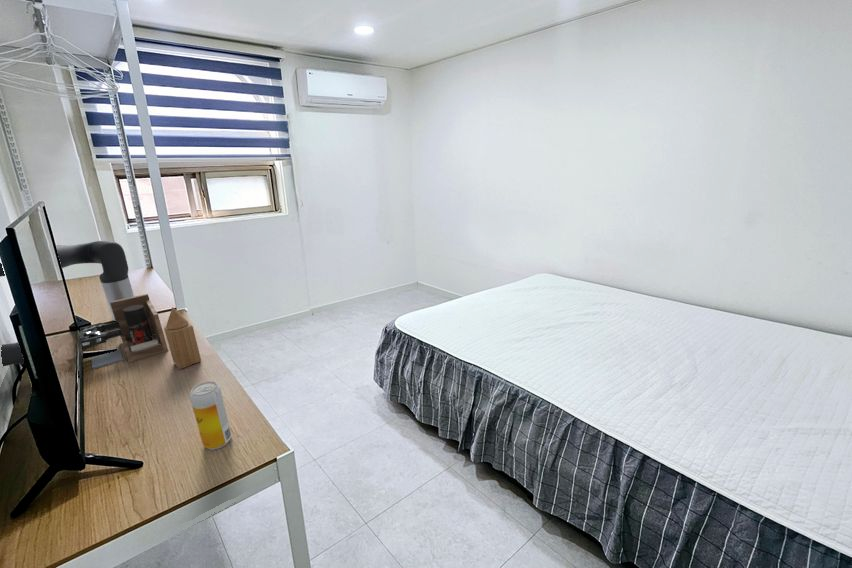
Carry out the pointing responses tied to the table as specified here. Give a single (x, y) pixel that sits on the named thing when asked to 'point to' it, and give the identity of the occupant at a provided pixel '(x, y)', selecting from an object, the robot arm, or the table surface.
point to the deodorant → (138, 324)
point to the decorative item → (181, 340)
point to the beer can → (210, 415)
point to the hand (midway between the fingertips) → (120, 327)
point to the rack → (152, 320)
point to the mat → (106, 359)
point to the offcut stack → (144, 345)
